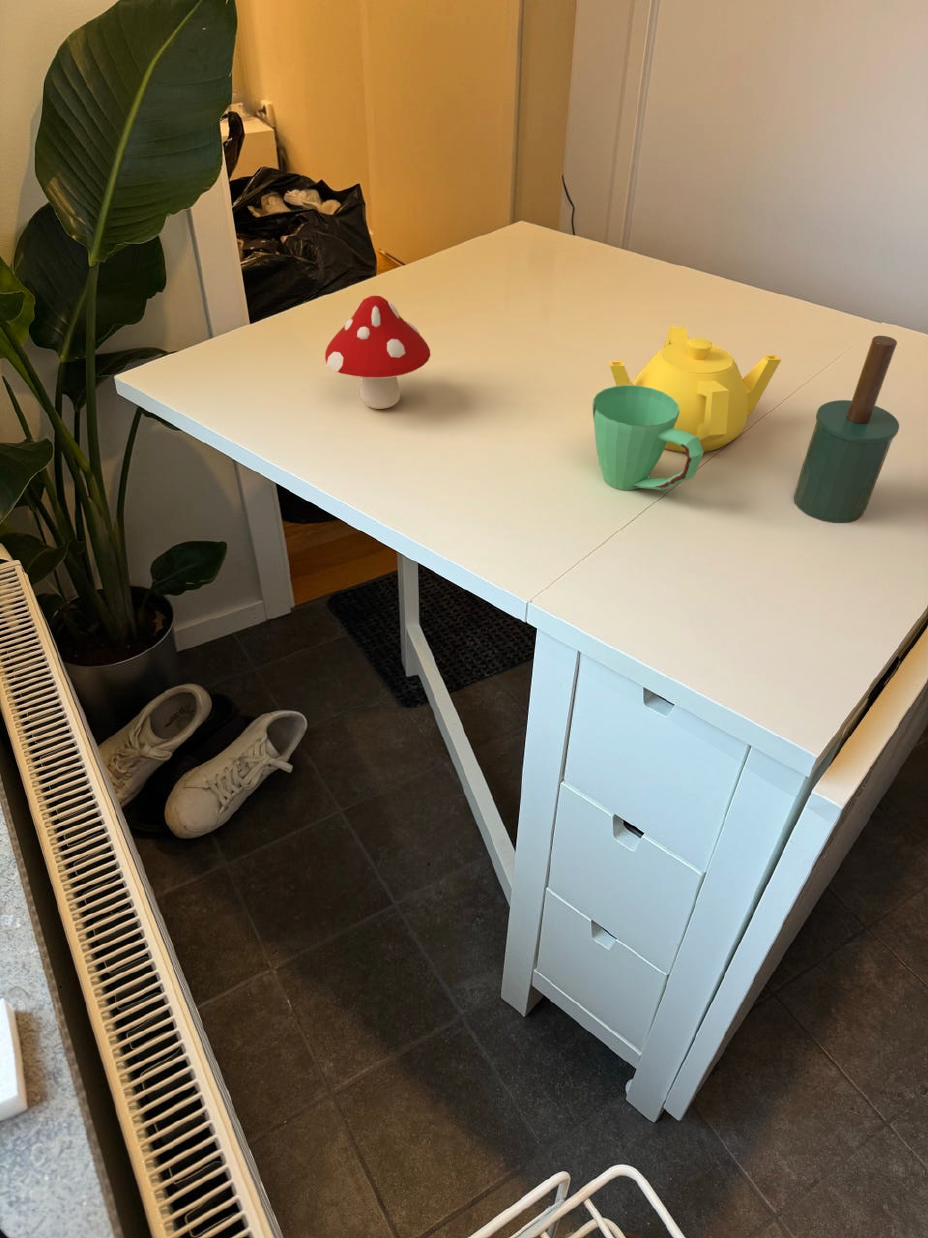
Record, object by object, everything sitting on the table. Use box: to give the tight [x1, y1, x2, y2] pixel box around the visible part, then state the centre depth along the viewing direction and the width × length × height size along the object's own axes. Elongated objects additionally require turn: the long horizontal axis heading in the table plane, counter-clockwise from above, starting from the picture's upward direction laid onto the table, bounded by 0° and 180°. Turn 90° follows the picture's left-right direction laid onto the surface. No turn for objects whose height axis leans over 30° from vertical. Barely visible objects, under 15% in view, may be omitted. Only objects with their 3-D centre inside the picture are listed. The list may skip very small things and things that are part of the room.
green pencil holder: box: [793, 420, 893, 524], centre depth 102 cm, size 8×8×10 cm
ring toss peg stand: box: [815, 335, 900, 443], centre depth 95 cm, size 9×9×10 cm
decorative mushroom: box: [324, 295, 431, 410], centre depth 116 cm, size 14×14×15 cm
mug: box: [591, 385, 704, 491], centre depth 104 cm, size 15×10×10 cm
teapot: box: [608, 326, 782, 453], centre depth 114 cm, size 17×17×12 cm
